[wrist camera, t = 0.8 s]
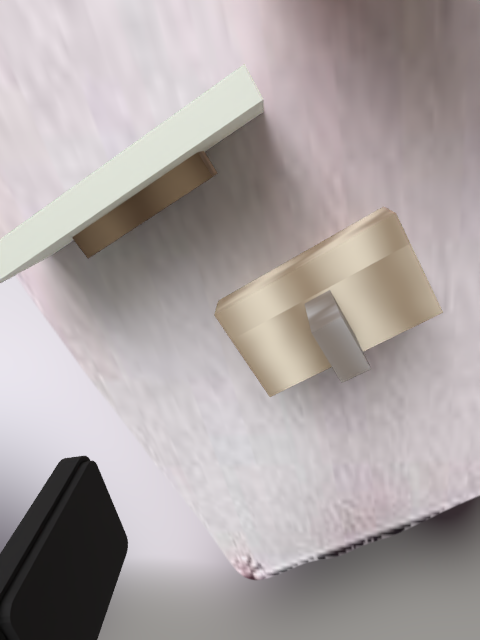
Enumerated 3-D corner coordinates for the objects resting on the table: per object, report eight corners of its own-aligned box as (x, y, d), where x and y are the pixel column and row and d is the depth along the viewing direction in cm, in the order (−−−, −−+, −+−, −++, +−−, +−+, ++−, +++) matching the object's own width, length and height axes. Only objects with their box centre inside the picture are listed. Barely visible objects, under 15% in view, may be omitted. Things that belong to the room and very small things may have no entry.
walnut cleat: (203, 150, 34) (197, 151, 31) (217, 173, 35) (212, 176, 32) (88, 228, 37) (72, 237, 34) (103, 248, 38) (88, 258, 35)
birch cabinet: (363, 194, 37) (421, 228, 23) (401, 271, 40) (475, 343, 26) (225, 274, 40) (205, 345, 27) (268, 341, 43) (270, 438, 29)
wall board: (250, 88, 34) (244, 64, 23) (263, 111, 35) (263, 99, 24) (37, 237, 40) (-50, 274, 29) (51, 255, 41) (-29, 298, 29)
